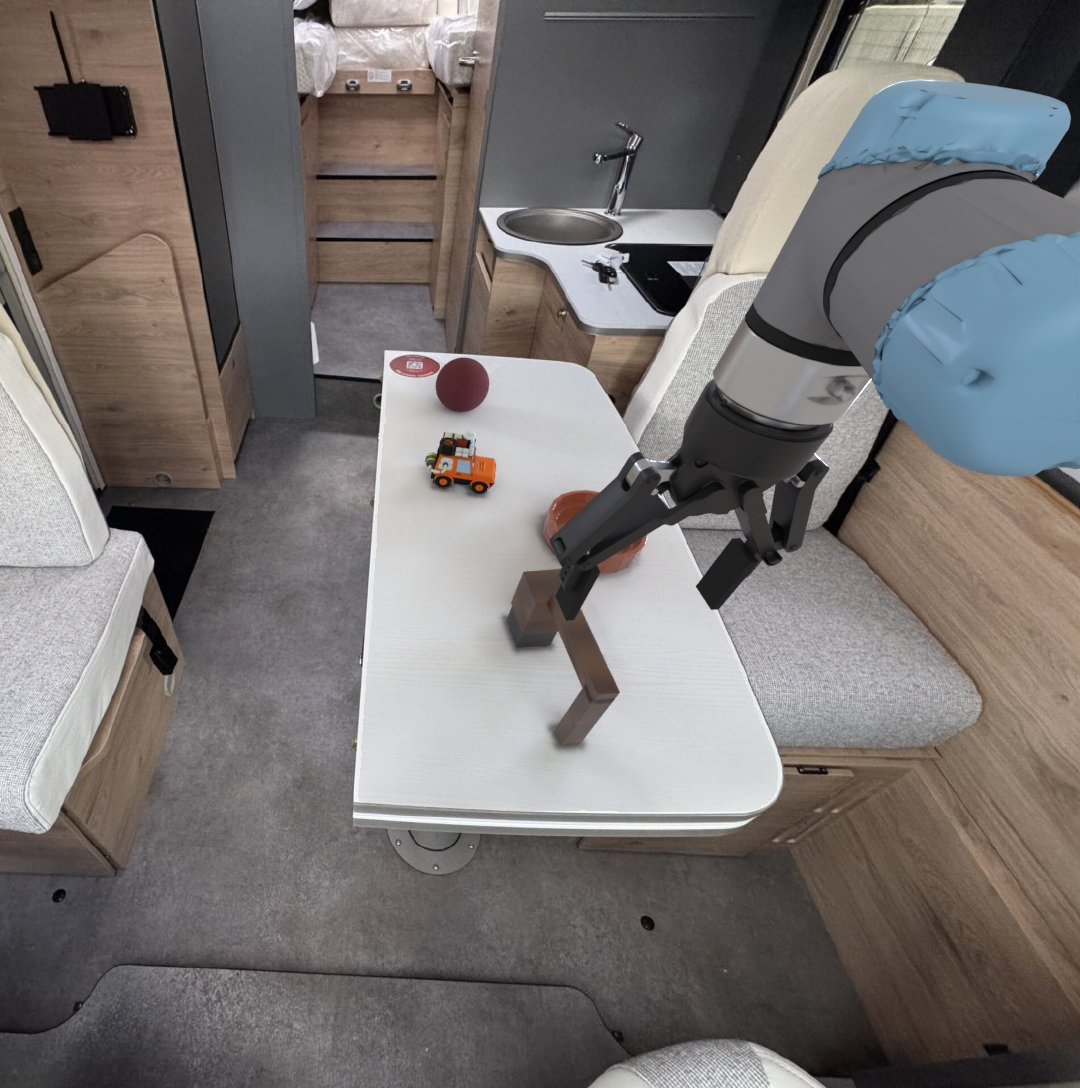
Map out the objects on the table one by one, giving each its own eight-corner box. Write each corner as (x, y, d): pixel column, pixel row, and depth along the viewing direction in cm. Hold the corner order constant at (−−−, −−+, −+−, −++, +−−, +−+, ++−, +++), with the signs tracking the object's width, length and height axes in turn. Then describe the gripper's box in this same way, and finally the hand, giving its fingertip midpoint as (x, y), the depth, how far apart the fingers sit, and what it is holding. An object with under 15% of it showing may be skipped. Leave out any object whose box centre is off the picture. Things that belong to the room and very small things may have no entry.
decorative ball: (472, 428, 107) (483, 381, 100) (423, 412, 110) (430, 364, 103) (490, 403, 113) (502, 357, 106) (444, 388, 116) (452, 342, 109)
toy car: (424, 461, 100) (431, 419, 94) (493, 471, 99) (505, 429, 93) (420, 487, 95) (428, 444, 89) (493, 497, 94) (505, 455, 88)
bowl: (652, 572, 85) (664, 554, 82) (561, 578, 83) (569, 560, 80) (612, 506, 94) (622, 488, 91) (529, 510, 93) (536, 492, 90)
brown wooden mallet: (591, 743, 66) (632, 691, 57) (549, 747, 66) (585, 695, 57) (539, 616, 78) (567, 556, 69) (504, 618, 78) (527, 559, 69)
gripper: (608, 442, 32) (515, 648, 48) (997, 426, 35) (789, 627, 50) (561, 371, 37) (491, 579, 53) (904, 362, 40) (740, 563, 55)
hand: (636, 603), depth 52 cm, fingers open, 13 cm apart
